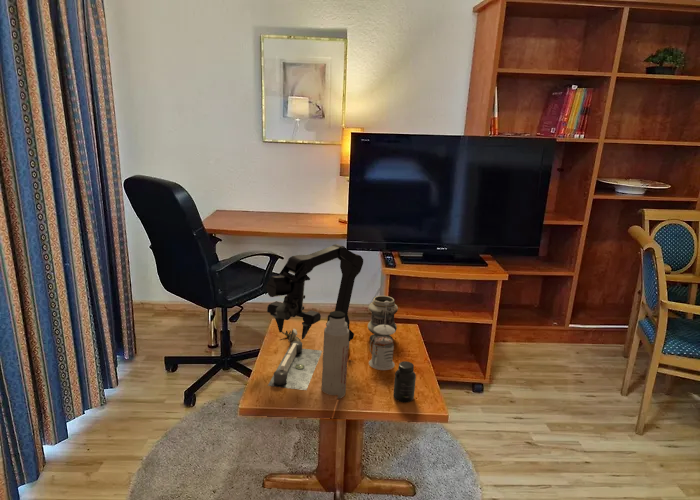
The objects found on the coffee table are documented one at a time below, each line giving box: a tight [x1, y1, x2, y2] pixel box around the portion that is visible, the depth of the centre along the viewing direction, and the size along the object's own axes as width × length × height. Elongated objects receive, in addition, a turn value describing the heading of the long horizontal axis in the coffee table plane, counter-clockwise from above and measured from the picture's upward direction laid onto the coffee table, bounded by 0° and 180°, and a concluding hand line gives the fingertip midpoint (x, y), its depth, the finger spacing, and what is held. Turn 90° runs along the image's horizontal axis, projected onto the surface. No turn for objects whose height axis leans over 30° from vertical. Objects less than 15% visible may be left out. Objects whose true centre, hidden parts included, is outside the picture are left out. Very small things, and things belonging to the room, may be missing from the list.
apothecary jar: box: [367, 295, 399, 343], centre depth 199 cm, size 12×12×18 cm
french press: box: [368, 301, 396, 371], centre depth 177 cm, size 10×12×25 cm
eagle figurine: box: [281, 328, 302, 342], centre depth 191 cm, size 8×7×9 cm
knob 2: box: [288, 341, 303, 365], centre depth 178 cm, size 13×4×4 cm, turn 173°
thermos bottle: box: [321, 310, 350, 400], centre depth 156 cm, size 8×8×28 cm
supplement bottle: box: [392, 360, 417, 404], centre depth 157 cm, size 7×7×12 cm
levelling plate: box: [267, 346, 323, 391], centre depth 171 cm, size 13×29×2 cm, turn 173°
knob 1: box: [273, 354, 290, 385], centre depth 164 cm, size 13×4×4 cm, turn 173°
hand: (291, 335), depth 169 cm, fingers open, 9 cm apart
